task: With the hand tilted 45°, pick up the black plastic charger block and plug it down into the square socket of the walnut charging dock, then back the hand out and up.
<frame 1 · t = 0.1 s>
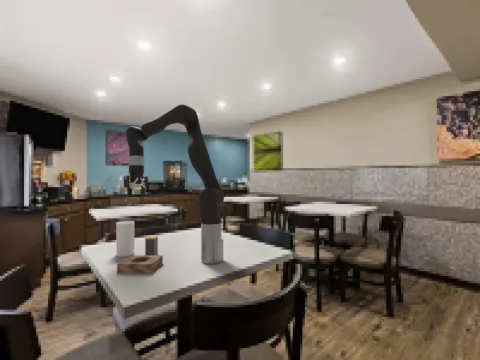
hand: (136, 195, 130), 29 cm above the table, tool pointing down, fingers open, 8 cm apart
charger: (151, 256, 121), on the table
dock: (141, 267, 104), on the table
cup: (125, 254, 124), on the table
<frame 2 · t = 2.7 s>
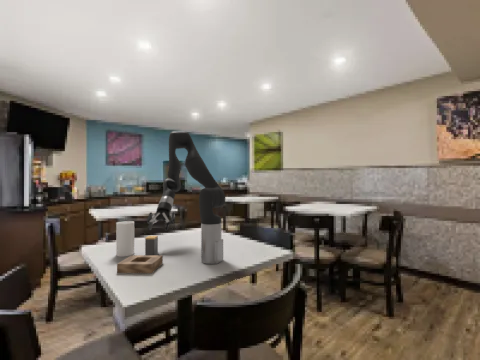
hand: (157, 229, 128), 12 cm above the table, tool tilted 45°, fingers open, 8 cm apart
nothing on the table moved.
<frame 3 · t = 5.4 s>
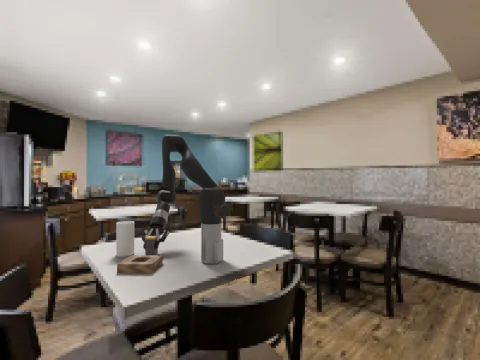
hand: (150, 248, 119), 4 cm above the table, tool tilted 45°, fingers closed on charger, 4 cm apart
charger: (151, 256, 121), on the table, touching gripper
everything else where it was.
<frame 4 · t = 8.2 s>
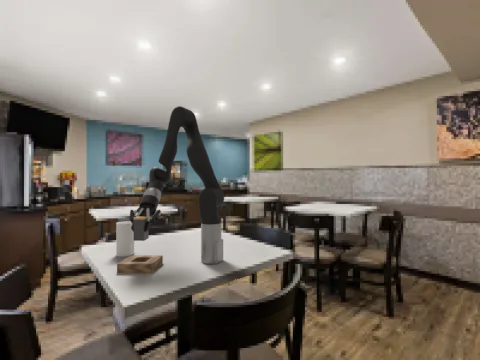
hand: (139, 230, 102), 16 cm above the table, tool tilted 45°, fingers closed on charger, 4 cm apart
charger: (141, 239, 104), point 12 cm above the table, touching gripper
everything else where it was.
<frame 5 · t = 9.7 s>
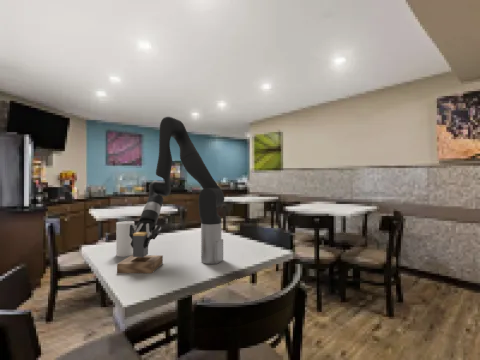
hand: (138, 246, 102), 9 cm above the table, tool tilted 45°, fingers closed on charger, 4 cm apart
charger: (140, 255, 104), point 5 cm above the table, touching gripper
everything else where it was.
when the fingers open (6 cm above the table, at t = 11.0 s): charger drops 1 cm, resting in dock.
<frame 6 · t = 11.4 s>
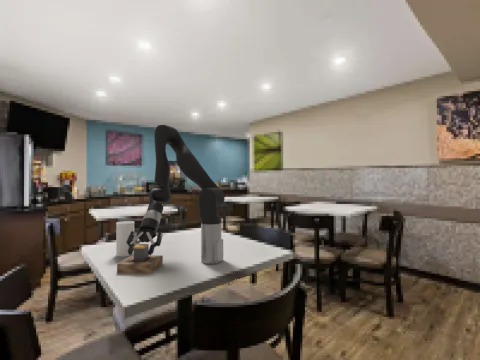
hand: (139, 254, 102), 6 cm above the table, tool tilted 45°, fingers open, 8 cm apart
charger: (141, 267, 104), resting in dock
everything else where it was.
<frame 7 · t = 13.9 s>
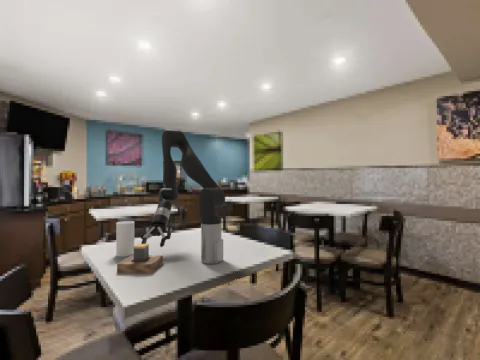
hand: (152, 246, 115), 6 cm above the table, tool tilted 45°, fingers open, 8 cm apart
nothing on the table moved.
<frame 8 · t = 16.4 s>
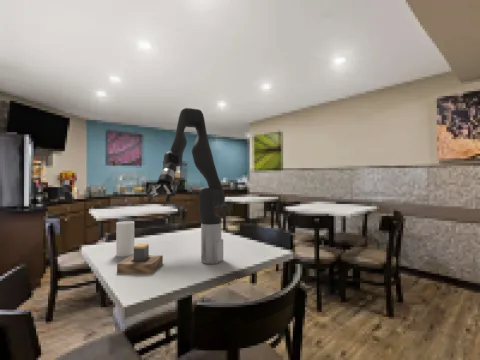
hand: (158, 201, 120), 27 cm above the table, tool tilted 45°, fingers open, 8 cm apart
nothing on the table moved.
at the end: charger 0.1 cm off-centre on the dock, point 0.0 cm above the dock's base; charger tilted 0°; the gripper is holding nothing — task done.
